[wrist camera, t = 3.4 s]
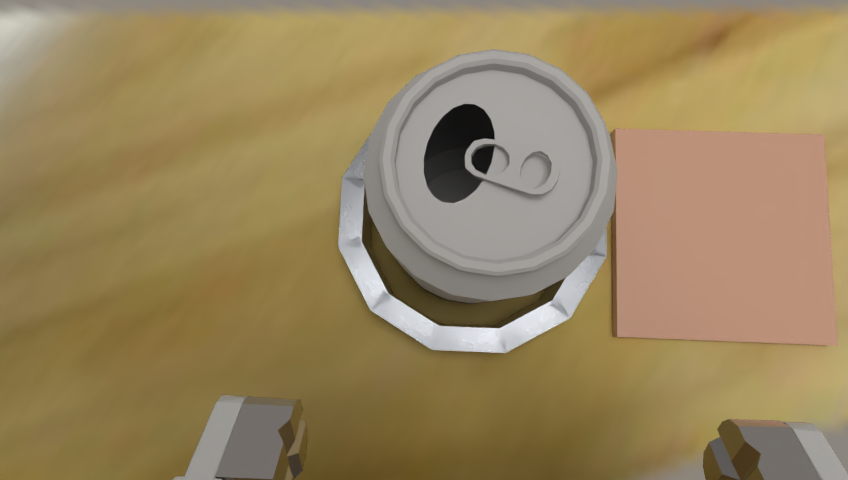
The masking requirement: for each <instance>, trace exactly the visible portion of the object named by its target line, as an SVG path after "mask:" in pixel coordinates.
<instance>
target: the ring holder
mask: <svg viewBox="0 0 848 480" xmlns="http://www.w3.org/2000/svg"><path fill="white" fill-rule="evenodd" d="M370 135H371V134H370ZM369 138H370V136H369V137H368V139H367V141H366V142H365V144H364V145H363V147H362V148H361V150H360V151H359V153H358V154H357V156H356V157H355V159H354V160H353V162H352V163H351V165H350V166H349V168H348V169H347V171H346V172H345V174H344V175H343V177H342V190H341V207H340V224H339V241H338V247H339V249H340V251H341V253H342V255H343V257H344V259H345V261H346V263H347V265H348V267H349V269H350V271H351V273H352V275H353V277H354V279H355V281H356V283H357V285H358V287H359V289H360V291H361V293H362V295H363V297H364V299H365V301H366V303H367V305H368V306H369V308H370V310H371V311H372V312H374V313H375V314H377V315H378V316H380V317H382V318H383V319H385V320H386V321H388V322H389V323H391V324H392V325H394V326H396V327H397V328H399V329H400V330H402V331H403V332H405V333H406V334H408V335H410V336H411V337H413V338H414V339H416V340H417V341H419V342H420V343H422V344H424V345H425V346H427V347H428V348H430V349H431V350H446V351H471V352H495V353H506V352H508V351H510V350H512V349H514V348H516V347H518V346H519V345H521V344H523V343H525V342H527V341H529V340H531V339H532V338H534V337H536V336H538V335H540V334H542V333H544V332H545V331H547V330H549V329H551V328H553V327H555V326H556V325H558V324H560V323H562V322H564V321H566V320H568V319H569V318H570V317H571V316H572V314H573V312H574V311H575V309H576V307H577V306H578V304H579V302H580V300H581V299H582V297H583V295H584V294H585V292H586V290H587V289H588V287H589V285H590V284H591V282H592V280H593V278H594V277H595V275H596V273H597V272H598V270H599V268H600V267H601V265H602V263H603V262H604V260H605V258H606V257H607V250H606V228H605V230H604V233H603V235H602V237H601V239H600V241H599V243H598V245H597V247H596V248H595V249H594V250H593V251H592V252H591V253H590V254H589V256H588V257H587V258H586V259H585V260H584V261H583V262H582V263H581V264H580V265H579V266H578V267H577V268H576V269H575V270H574V271H573V272H572V273H571V274H570V275H569V276H568V277H566V278H564V279H562V280H560V281H558V282H556V283H554V284H552V285H550V286H548V287H547V288H546V289H545V291H544V293H543V294H542V296H541V298H540V299H539V301H538V302H536V303H534V304H532V305H530V306H528V307H526V308H525V309H523V310H521V311H519V312H517V313H515V314H513V315H512V316H510V317H508V318H506V319H504V320H502V321H500V322H498V323H497V324H495V325H493V326H480V325H454V324H438V323H436V322H435V321H433V320H432V319H430V318H429V317H427V316H425V315H424V314H422V313H421V312H419V311H418V310H416V309H414V308H413V307H411V306H410V305H408V304H407V303H405V302H403V301H402V300H400V299H399V298H397V297H396V296H394V295H393V293H392V291H391V289H390V287H389V285H388V283H387V281H386V279H385V277H384V275H383V273H382V271H381V269H380V267H379V266H378V264H377V262H376V260H375V258H374V256H373V254H372V252H371V250H370V241H371V221H372V218H371V216H370V214H369V210H368V203H367V197H366V190H365V183H364V176H363V172H364V166H365V161H366V155H367V150H368V144H369Z"/></svg>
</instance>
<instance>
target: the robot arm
mask: <svg viewBox="0 0 848 480" xmlns="http://www.w3.org/2000/svg"><path fill="white" fill-rule="evenodd" d="M302 412H303V407H302V404H301V400H300V399H283V398H266V397H250V396H234V395H222V396H221V397H220V398H219V399H218V401H217V402H216V403H215V405H214V408H213V410H212V412H211V415H210V417H209V419H208V422H207V424H206V426H205V429H204V431H203V434H202V436H201V438H200V441H199V443H198V445H197V448H196V450H195V452H194V455H193V457H192V459H191V462H190V464H189V466H188V469H187V471H186V473H185V476H176V477H175V478H174V479H173V480H294V479H295V478H296V477H297V476H298V475H299V474H300V473H301V472H302V471H303V467H304V462H305V458H306V451H307V442H308V435H307V426H306V423H305V422H304V421H303V420H302V419H301V415H302ZM717 430H718V432H719V434H720V437H719V438H717V439H715V440H713V441H711V442H709V444H708V445H707V447H706V449H705V451H704V456H703V469H704V474H705V478H706V480H848V474H847V473H846V471H845V469H844V468H843V466H842V464H841V463H840V461H839V460H838V458H837V456H836V455H835V453H834V452H833V450H832V449H831V447H830V445H829V444H828V442H827V441H826V439H825V437H824V436H823V434H822V433H821V431H820V430H819V429H818V428H817V427H816V426H815V425H813V424H811V423H806V422H781V421H772V420H739V419H728V420H725V421H723V422H722V423H721V424H720V426H719V427H718V429H717Z"/></svg>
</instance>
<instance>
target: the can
mask: <svg viewBox="0 0 848 480" xmlns="http://www.w3.org/2000/svg"><path fill="white" fill-rule="evenodd" d="M363 176H364V183H365V190H366V197H367V203H368V210H369V214H370V216H371V218H372V220H373V222H374V224H375V226H376V228H377V230H378V232H379V234H380V236H381V238H382V240H383V242H384V244H385V246H386V248H387V249H388V250H389V251H390V253H391V254H392V255H393V256H394V258H395V259H396V260H397V261H398V262H399V264H400V265H401V266H402V267H403V269H404V270H405V271H406V272H407V273H408V274H409V275H410V276H411V277H412V278H413V279H414V280H415V281H416V282H417V283H418V284H419V285H420V286H421V287H422V288H423V289H425V290H427V291H429V292H431V293H433V294H435V295H437V296H439V297H441V298H443V299H445V300H450V301H456V302H462V303H468V304H472V303H480V302H489V301H496V300H502V299H509V298H515V297H521V296H527V295H533V294H535V293H537V292H539V291H541V290H543V289H544V288H546V287H548V286H550V285H552V284H554V283H556V282H558V281H560V280H562V279H564V278H566V277H568V276H569V275H570V274H571V273H572V272H573V271H574V270H575V269H576V268H577V267H578V266H579V265H580V264H581V263H582V262H583V261H584V260H585V259H586V258H587V257H588V256H589V254H590V253H591V252H592V251H593V250H594V249H595V248H596V247H597V245H598V243H599V241H600V239H601V237H602V235H603V233H604V230H605V228H606V226H607V224H608V222H609V220H610V218H611V216H612V214H613V211H614V202H615V194H616V185H617V176H618V171H617V166H616V161H615V156H614V152H613V147H612V142H611V138H610V134H609V132H608V131H607V128H606V124H605V122H604V120H603V119H602V117H601V115H600V113H599V112H598V110H597V108H596V107H595V105H594V103H593V101H592V100H591V98H590V96H589V94H588V93H587V92H586V91H585V90H584V89H583V88H581V87H580V86H579V85H578V84H577V83H576V82H575V81H574V80H573V79H572V78H570V77H569V76H568V75H567V74H566V73H565V72H564V71H563V70H562V69H560V68H557V67H555V66H553V65H551V64H549V63H547V62H545V61H542V60H540V59H538V58H536V57H534V56H532V55H530V54H524V53H517V52H509V51H502V50H495V49H492V50H486V51H480V52H473V53H467V54H461V55H457V56H455V57H453V58H451V59H449V60H447V61H445V62H443V63H441V64H439V65H437V66H435V67H433V68H431V69H429V70H427V71H425V72H423V73H421V74H419V75H417V76H415V77H414V78H413V79H412V80H411V81H410V82H409V83H408V84H407V85H406V86H405V87H404V88H403V89H402V90H400V91H399V92H398V93H397V94H396V95H395V96H394V97H393V98H392V99H391V100H390V101H389V102H388V103H387V105H386V107H385V109H384V111H383V113H382V115H381V116H380V118H379V120H378V122H377V124H376V126H375V127H374V129H373V131H372V133H371V135H370V138H369V144H368V150H367V155H366V161H365V166H364V172H363Z"/></svg>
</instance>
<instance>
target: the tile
mask: <svg viewBox="0 0 848 480" xmlns="http://www.w3.org/2000/svg"><path fill="white" fill-rule="evenodd" d="M611 142H612V147H613V152H614V156H615V161H616V166H617V171H618V176H617V185H616V194H615V202H614V211H613V214H612V285H613V336H616V337H635V338H661V339H686V340H711V341H736V342H761V343H786V344H812V345H837V330H836V314H835V298H834V282H833V266H832V250H831V234H830V218H829V202H828V186H827V170H826V154H825V138H824V135H814V134H780V133H747V132H713V131H680V130H646V129H614V130H613V131H612V132H611Z"/></svg>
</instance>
